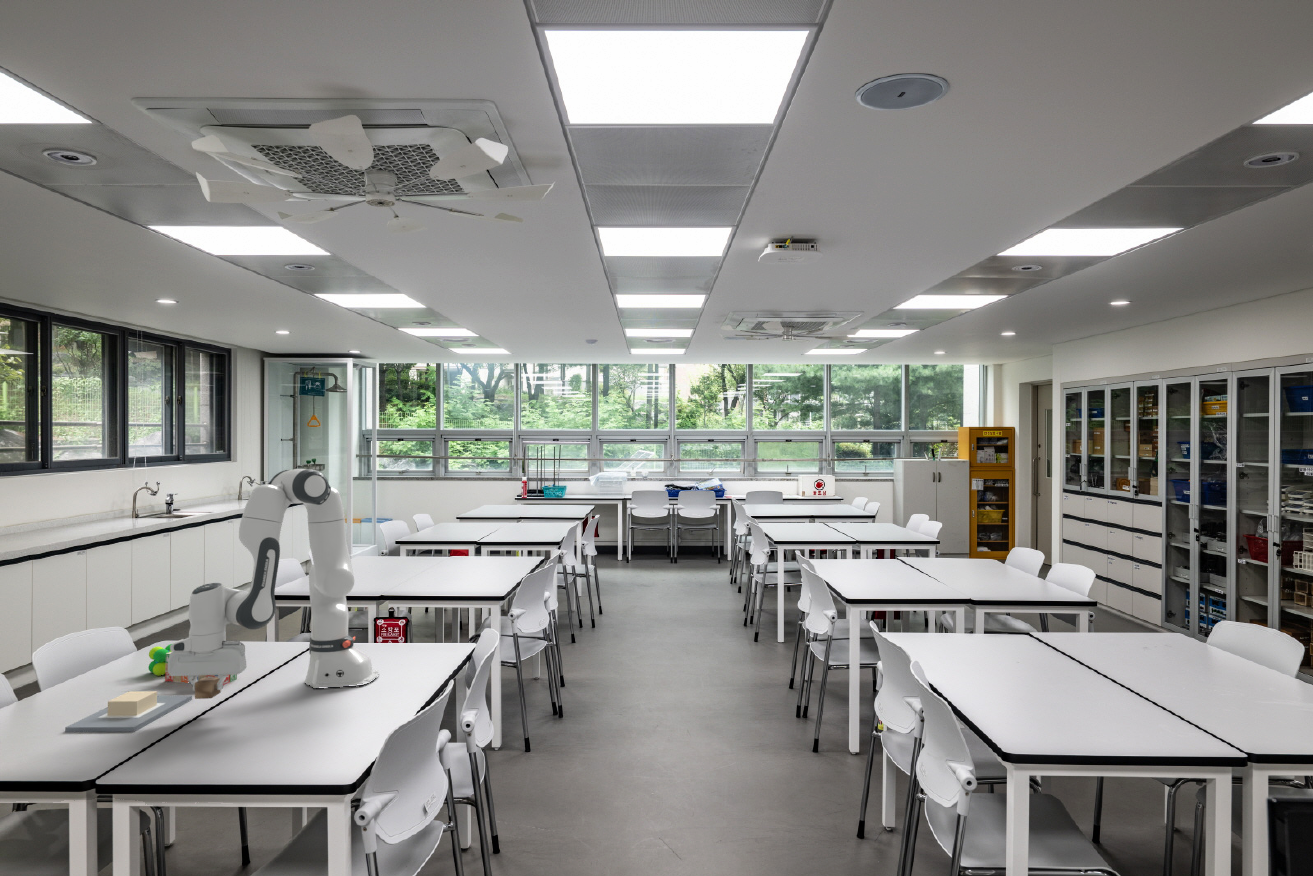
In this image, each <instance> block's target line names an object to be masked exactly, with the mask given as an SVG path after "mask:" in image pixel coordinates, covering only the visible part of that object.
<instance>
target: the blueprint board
mask: <svg viewBox="0 0 1313 876" xmlns="http://www.w3.org/2000/svg"><path fill="white" fill-rule="evenodd" d="M189 700H190V701H192V700H193V695H158V691H156V690H155V691H150V690H149V691H144V690H142V691H127V692H125V693H123V694H121V695H119V696H117V697H114V698H112V699H110V700H108V701H107V707H105V708H103V709H100V710H98V711H97V712H94V713H92V714H90V715H89V716H86V717H84V718H82V719H80V720H78V721H76V722H73V723H71V724H70V725H67V726H65V728H64V729H65V730H64V732H65V733H84V732H83V731H86V732H85V733H99V732H100V733H109V732H111V733H114V732H117V733H119V732H120V733H123V732H124V733H126V732H128V733H131V732H136V731H138V730H140V729H142V728H143V727H145V726H147V725H149V724H150V723H152V722H154V721H156V720H158V719H159V718H161V717H163V716H165V715H167V714H168V713H171V712H172V711H174V710H176V709H178V708H179V707H181V706H183V705H185V704H187V703H189V702H190V701H189ZM74 731H75V732H74ZM79 731H80V732H79ZM87 731H88V732H87Z"/></svg>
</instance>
